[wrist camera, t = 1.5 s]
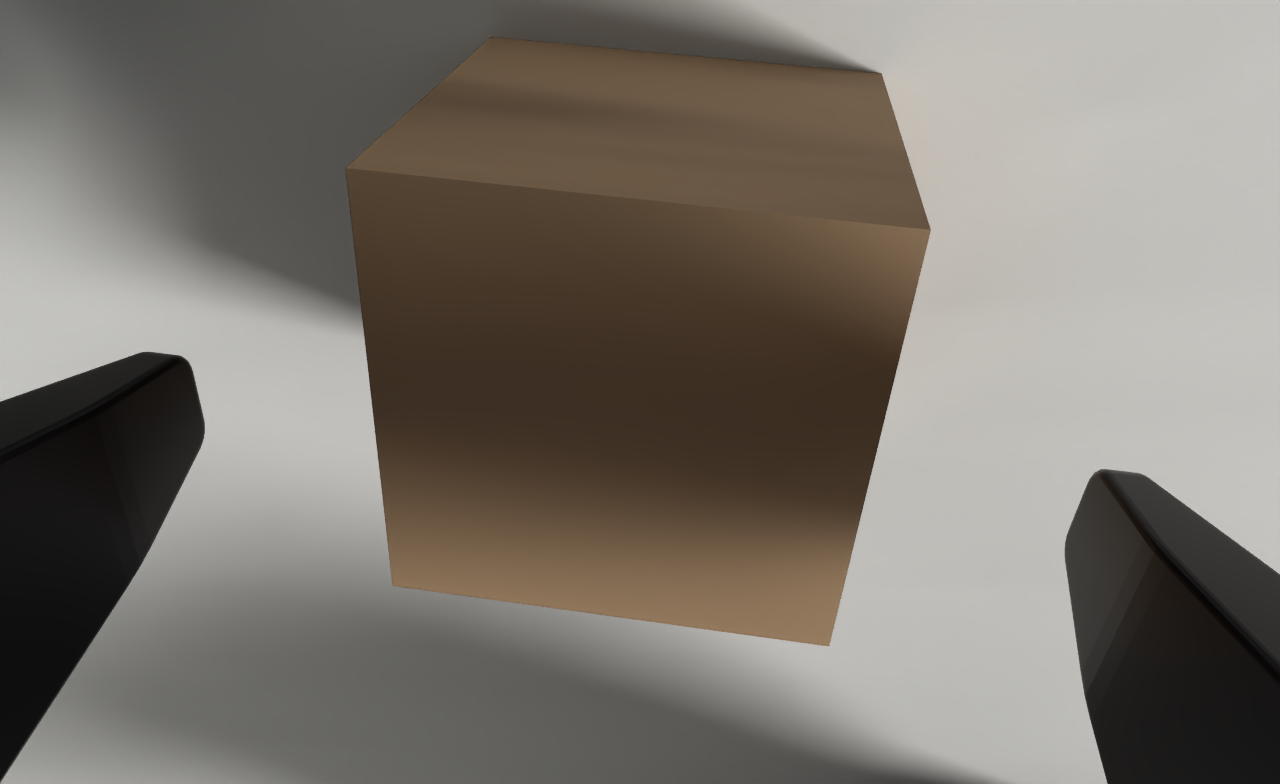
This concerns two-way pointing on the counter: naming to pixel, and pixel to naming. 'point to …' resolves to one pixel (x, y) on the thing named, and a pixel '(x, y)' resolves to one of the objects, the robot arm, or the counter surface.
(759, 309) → the brown metallic block
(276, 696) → the counter surface
